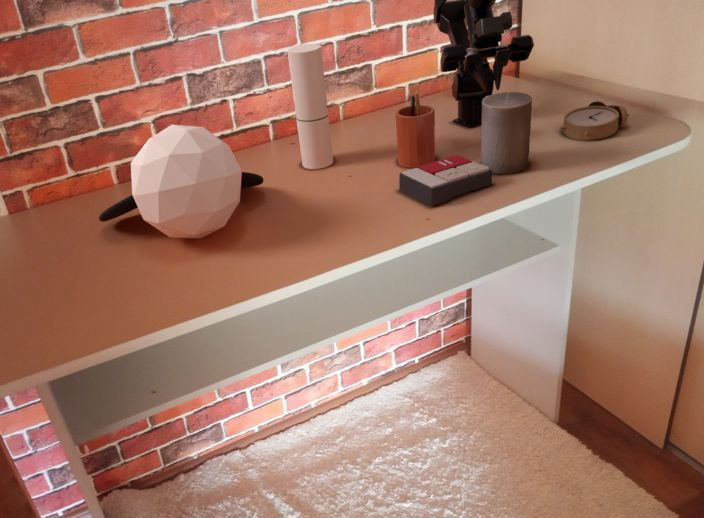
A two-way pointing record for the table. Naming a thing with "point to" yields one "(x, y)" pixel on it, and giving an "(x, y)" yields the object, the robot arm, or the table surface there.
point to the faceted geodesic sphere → (184, 183)
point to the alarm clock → (594, 121)
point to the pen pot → (415, 136)
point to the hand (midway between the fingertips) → (492, 90)
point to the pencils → (414, 99)
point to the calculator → (444, 179)
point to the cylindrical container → (310, 105)
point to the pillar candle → (506, 132)
